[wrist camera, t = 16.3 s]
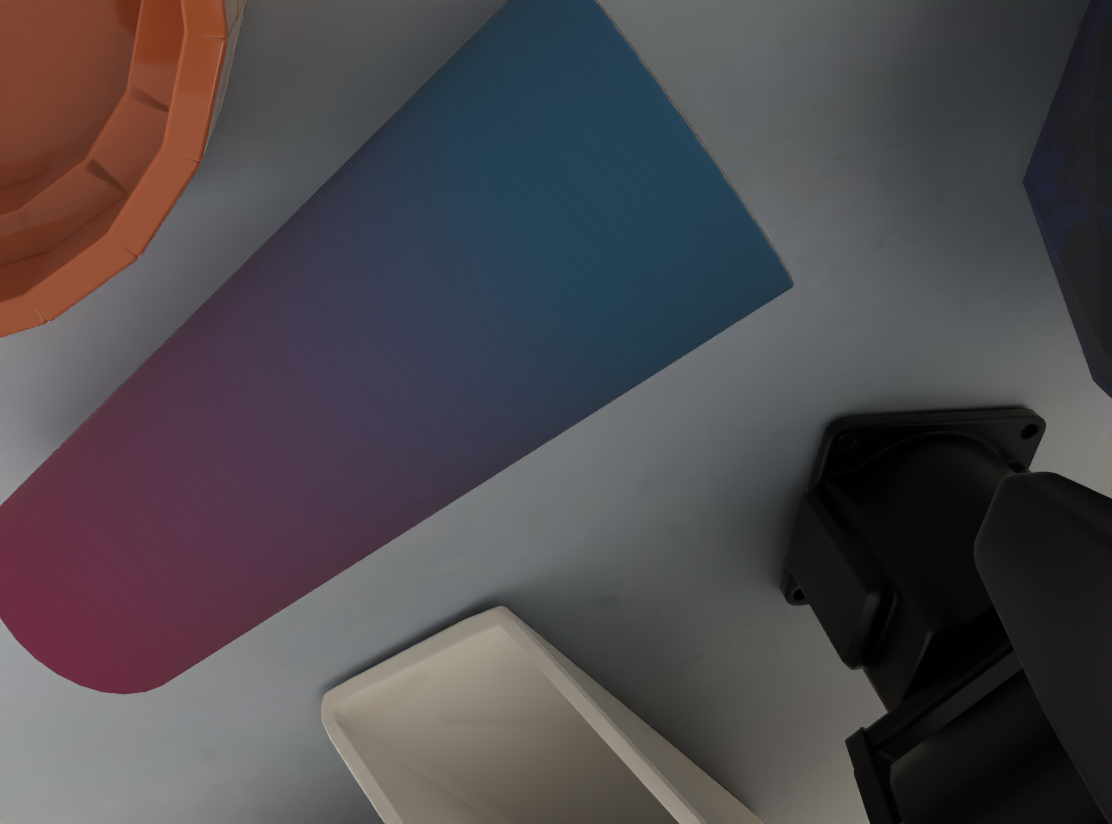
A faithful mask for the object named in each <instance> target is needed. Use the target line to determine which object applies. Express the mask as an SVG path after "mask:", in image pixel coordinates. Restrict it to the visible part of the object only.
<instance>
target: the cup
mask: <svg viewBox="0 0 1112 824" xmlns="http://www.w3.org/2000/svg"><path fill="white" fill-rule="evenodd" d="M793 286H794V283H793V280H792V277H791V275H790V273H789V272H788V270H787V268H786V266H785V264H784V263H783V261H782V259H781V258H780V256H779V255H778V253H777V251H776V250H775V248H774V247H773V245H772V243H771V242H770V240H769V239H768V237H767V236H766V234H765V233H764V231H763V230H762V228H761V227H760V225H759V223H758V222H757V220H756V219H755V217H754V216H753V214H752V213H751V211H750V210H749V208H748V207H747V206H746V204H745V203H744V201H743V200H742V198H741V197H740V195H739V194H738V192H737V191H736V189H735V188H734V186H733V185H732V183H731V182H730V181H729V179H728V178H727V176H726V175H725V173H724V172H723V171H722V169H721V168H720V166H719V165H718V163H717V162H716V161H715V159H714V158H713V156H712V155H711V153H710V152H709V151H708V149H707V148H706V146H705V145H704V143H703V142H702V141H701V139H700V138H699V136H698V135H697V134H696V132H695V131H694V129H693V128H692V127H691V125H690V124H689V122H688V121H687V120H686V118H685V117H684V115H683V114H682V113H681V111H680V110H679V108H678V107H677V106H676V104H675V103H674V102H673V100H672V99H671V97H670V96H669V95H668V93H667V92H666V91H665V89H664V88H663V87H662V85H661V84H660V82H659V81H658V80H657V78H656V77H655V76H654V74H653V73H652V71H651V70H650V69H649V67H648V66H647V65H646V63H645V62H644V61H643V59H642V58H641V57H640V55H639V54H638V53H637V51H636V50H635V49H634V47H633V46H632V45H631V43H630V42H629V41H628V39H627V38H626V37H625V35H624V34H623V33H622V31H621V30H620V29H619V28H618V26H617V25H616V24H615V22H614V21H613V20H612V18H611V17H610V16H609V15H608V13H607V12H606V11H605V9H604V8H603V7H602V5H601V4H600V3H599V2H598V0H509V1H508V2H507V3H506V4H505V5H504V6H503V7H502V8H501V9H500V10H499V11H498V12H497V13H496V14H495V15H494V16H493V17H492V18H491V19H490V20H489V21H488V22H487V23H486V24H485V25H484V26H483V27H482V28H481V29H480V30H479V31H478V32H477V33H476V34H475V35H474V36H473V37H472V38H471V39H470V40H469V41H468V42H467V43H466V44H465V45H464V46H463V47H462V48H461V49H460V50H459V51H458V52H457V53H456V54H455V55H454V56H453V57H452V58H451V59H450V60H449V61H448V62H447V63H446V64H445V65H444V66H443V67H442V68H441V69H440V70H439V71H438V72H437V73H436V74H435V75H434V76H433V77H432V78H431V79H430V80H429V81H428V82H427V83H426V84H425V85H424V86H423V87H422V88H421V89H420V90H419V91H418V92H417V93H416V94H415V95H413V96H412V97H411V98H410V99H409V100H408V101H407V102H406V103H405V104H404V105H403V106H402V107H401V108H400V109H399V110H398V111H397V112H396V113H395V114H394V115H393V116H392V117H391V118H390V119H389V120H388V121H387V122H386V123H385V124H384V125H383V126H382V127H381V128H380V129H379V130H378V131H377V132H376V133H375V134H374V135H373V136H372V137H371V138H370V139H369V140H368V141H367V142H366V143H365V144H364V145H363V146H362V147H361V148H360V149H359V150H358V151H357V152H356V153H355V154H354V155H353V156H352V157H351V158H350V159H349V160H348V161H347V162H346V163H345V164H344V165H343V166H342V167H341V168H340V169H339V170H338V171H337V172H336V173H335V174H334V175H333V176H332V177H331V178H330V179H329V180H328V181H327V182H326V183H325V184H324V185H323V186H322V187H321V188H320V189H319V190H318V191H317V192H316V193H315V194H314V195H313V196H312V197H311V198H310V199H309V200H308V201H307V202H306V203H305V204H304V205H303V206H302V207H301V208H300V209H299V210H298V211H297V212H296V213H295V214H294V215H293V216H292V217H291V218H290V219H289V220H288V221H287V222H286V223H285V224H284V225H283V226H282V227H281V228H280V229H279V230H278V231H277V232H276V233H275V234H274V235H272V236H271V237H270V238H269V239H268V240H267V241H266V242H265V243H264V244H263V245H262V246H261V247H260V248H259V249H258V250H257V251H256V252H255V253H254V254H253V255H252V256H251V257H250V258H249V259H248V260H247V261H246V262H245V263H244V264H243V265H242V266H241V267H240V268H239V269H238V270H237V271H236V272H235V273H234V274H233V275H232V276H231V277H230V278H229V279H228V280H227V281H226V282H225V283H224V284H223V285H222V286H221V287H220V288H219V289H218V290H217V291H216V292H215V293H214V294H213V295H212V296H211V297H210V298H209V299H208V300H207V301H206V302H205V303H204V304H203V305H202V306H201V307H200V308H199V309H198V310H197V311H196V312H195V313H194V314H193V315H192V316H191V317H190V318H189V319H188V320H187V321H186V322H185V323H184V324H183V325H182V326H181V327H180V328H179V329H178V330H177V331H176V332H175V333H174V334H173V335H172V336H171V337H170V338H169V339H168V340H167V341H166V342H165V343H164V344H163V345H162V346H161V347H160V348H159V349H158V350H157V351H156V352H155V353H154V354H153V355H152V356H151V357H150V358H149V359H148V360H147V361H146V362H145V363H144V364H143V365H142V366H141V367H140V368H139V369H138V370H137V371H136V372H135V373H134V374H132V375H131V376H130V377H129V378H128V379H127V380H126V381H125V382H124V383H123V384H122V385H121V386H120V387H119V388H118V389H117V390H116V391H115V392H114V393H113V394H112V395H111V396H110V397H109V398H108V399H107V400H106V401H105V402H104V403H103V404H102V405H101V406H100V407H99V408H98V409H97V410H96V411H95V412H94V413H93V414H92V415H91V416H90V417H89V418H88V419H87V420H86V421H85V422H84V423H83V424H82V425H81V426H80V427H79V428H78V429H77V430H76V431H75V432H74V433H73V434H72V435H71V436H70V437H69V438H68V439H67V440H66V441H65V442H64V443H63V444H62V445H61V446H60V447H59V448H58V449H57V450H56V451H55V452H54V453H53V454H52V455H51V456H50V457H49V458H48V459H47V460H46V461H45V462H44V463H43V464H42V465H41V466H40V467H39V468H38V469H37V470H36V471H35V472H34V473H33V474H32V475H31V476H30V477H29V478H28V479H27V480H26V481H25V482H24V483H23V484H22V485H21V486H20V487H19V488H18V489H17V490H16V491H15V492H14V493H13V494H12V495H11V496H10V497H9V498H8V499H7V500H6V501H5V502H4V503H3V504H2V505H1V506H0V618H1V620H2V621H3V622H4V624H5V625H6V626H7V628H8V629H9V630H10V632H11V633H12V635H13V636H14V637H15V639H16V640H17V641H18V642H19V643H20V644H21V645H22V646H23V647H24V648H25V649H26V650H27V651H28V652H29V653H30V654H31V655H32V656H33V657H34V658H35V659H37V660H38V661H39V662H41V663H42V664H44V665H45V666H46V667H48V668H49V669H51V670H52V671H53V672H55V673H56V674H58V675H60V676H62V677H64V678H66V679H68V680H70V681H72V682H74V683H76V684H78V685H80V686H84V687H87V688H90V689H94V690H97V691H101V692H107V693H117V694H131V693H139V692H146V691H149V690H151V689H154V688H157V687H159V686H162V685H164V684H165V683H167V682H169V681H170V680H172V679H173V678H175V677H176V676H178V675H180V674H181V673H183V672H184V671H186V670H187V669H189V668H191V667H192V666H194V665H195V664H197V663H199V662H200V661H202V660H203V659H205V658H206V657H208V656H210V655H211V654H213V653H214V652H216V651H218V650H219V649H221V648H222V647H224V646H225V645H227V644H229V643H230V642H232V641H233V640H235V639H237V638H238V637H240V636H241V635H243V634H244V633H246V632H248V631H249V630H251V629H252V628H254V627H256V626H257V625H259V624H260V623H262V622H263V621H265V620H267V619H268V618H270V617H271V616H273V615H274V614H276V613H278V612H279V611H281V610H282V609H284V608H286V607H287V606H289V605H290V604H292V603H293V602H295V601H297V600H298V599H300V598H301V597H303V596H305V595H306V594H308V593H309V592H311V591H312V590H314V589H316V588H317V587H319V586H320V585H322V584H324V583H325V582H327V581H328V580H330V579H331V578H333V577H335V576H336V575H338V574H339V573H341V572H343V571H344V570H346V569H347V568H349V567H350V566H352V565H354V564H355V563H357V562H358V561H360V560H362V559H363V558H365V557H366V556H368V555H369V554H371V553H373V552H374V551H376V550H377V549H379V548H380V547H382V546H384V545H385V544H387V543H388V542H390V541H392V540H393V539H395V538H396V537H398V536H399V535H401V534H403V533H404V532H406V531H407V530H409V529H411V528H412V527H414V526H415V525H417V524H418V523H420V522H422V521H423V520H425V519H426V518H428V517H430V516H431V515H433V514H434V513H436V512H437V511H439V510H441V509H442V508H444V507H445V506H447V505H449V504H450V503H452V502H453V501H455V500H456V499H458V498H460V497H461V496H463V495H464V494H466V493H468V492H469V491H471V490H472V489H474V488H475V487H477V486H479V485H480V484H482V483H483V482H485V481H486V480H488V479H490V478H491V477H493V476H494V475H496V474H498V473H499V472H501V471H502V470H504V469H505V468H507V467H509V466H510V465H512V464H513V463H515V462H517V461H518V460H520V459H521V458H523V457H524V456H526V455H528V454H529V453H531V452H532V451H534V450H536V449H537V448H539V447H540V446H542V445H543V444H545V443H547V442H548V441H550V440H551V439H553V438H555V437H556V436H558V435H559V434H561V433H562V432H564V431H566V430H567V429H569V428H570V427H572V426H574V425H575V424H577V423H578V422H580V421H581V420H583V419H585V418H586V417H588V416H589V415H591V414H592V413H594V412H596V411H597V410H599V409H600V408H602V407H604V406H605V405H607V404H608V403H610V402H611V401H613V400H615V399H616V398H618V397H619V396H621V395H623V394H624V393H626V392H627V391H629V390H630V389H632V388H634V387H635V386H637V385H638V384H640V383H642V382H643V381H645V380H646V379H648V378H649V377H651V376H653V375H654V374H656V373H657V372H659V371H661V370H662V369H664V368H665V367H667V366H668V365H670V364H672V363H673V362H675V361H676V360H678V359H680V358H681V357H683V356H684V355H686V354H687V353H689V352H691V351H692V350H694V349H695V348H697V347H698V346H700V345H702V344H703V343H705V342H706V341H708V340H710V339H711V338H713V337H714V336H716V335H717V334H719V333H721V332H722V331H724V330H725V329H727V328H729V327H730V326H732V325H733V324H735V323H736V322H738V321H740V320H741V319H743V318H744V317H746V316H748V315H749V314H751V313H752V312H754V311H755V310H757V309H759V308H760V307H762V306H763V305H765V304H767V303H768V302H770V301H771V300H773V299H774V298H776V297H778V296H779V295H781V294H782V293H784V292H786V291H787V290H789V289H790V288H792V287H793Z"/></svg>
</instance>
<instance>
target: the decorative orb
mask: <svg viewBox="0 0 1112 824" xmlns="http://www.w3.org/2000/svg"><path fill="white" fill-rule="evenodd" d="M1023 184H1024V187H1025V189H1026V192H1027V195H1028V198H1029V201H1030V203H1031V206H1032V209H1033V212H1034V215H1035V218H1036V220H1037V223H1038V226H1039V229H1040V232H1041V235H1042V237H1043V240H1044V243H1045V246H1046V249H1047V251H1048V254H1049V257H1050V260H1051V263H1052V266H1053V268H1054V271H1055V274H1056V277H1057V280H1058V283H1059V285H1060V288H1061V291H1062V294H1063V297H1064V299H1065V302H1066V305H1067V308H1068V311H1069V314H1070V316H1071V319H1072V322H1073V325H1074V328H1075V330H1076V333H1077V336H1078V339H1079V342H1080V345H1081V347H1082V350H1083V353H1084V356H1085V359H1086V362H1087V364H1088V367H1089V370H1090V373H1091V376H1092V378H1093V381H1094V382H1095V383H1096V384H1097V385H1098V386H1099V387H1100V388H1101V389H1102V390H1103V391H1104V392H1106V393H1107V394H1108V395H1109V396H1110V397H1111V398H1112V0H1091V1H1090V3H1089V6H1088V9H1087V11H1086V14H1085V17H1084V19H1083V22H1082V25H1081V27H1080V30H1079V33H1078V35H1077V38H1076V41H1075V43H1074V46H1073V49H1072V51H1071V54H1070V57H1069V59H1068V62H1067V65H1066V67H1065V70H1064V73H1063V75H1062V78H1061V81H1060V83H1059V86H1058V89H1057V91H1056V94H1055V97H1054V99H1053V102H1052V104H1051V107H1050V110H1049V112H1048V115H1047V118H1046V120H1045V123H1044V126H1043V128H1042V131H1041V134H1040V136H1039V139H1038V142H1037V144H1036V147H1035V150H1034V152H1033V155H1032V158H1031V160H1030V163H1029V166H1028V168H1027V171H1026V174H1025V176H1024V179H1023Z"/></svg>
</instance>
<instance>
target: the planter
mask: <svg viewBox="0 0 1112 824" xmlns="http://www.w3.org/2000/svg"><path fill="white" fill-rule="evenodd" d="M321 719H322V722H323V724H324V727H325V729H326V732H327V734H328V737H329V739H330V740H331V742H332V743H333V745H334V746H335V748H336V750H337V751H338V753H339V754H340V756H341V757H342V759H343V760H344V762H345V764H346V765H347V767H348V768H349V770H350V771H351V773H352V774H353V776H354V778H355V779H356V781H357V782H358V784H359V785H360V787H361V788H362V790H363V791H364V793H365V794H366V796H367V797H368V799H369V801H370V802H371V804H372V805H373V807H374V808H375V810H376V811H377V813H378V814H379V816H380V817H381V819H382V820H383V822H384V823H385V824H764V823H763V821H762V820H761V819H759V818H758V817H757V816H756V815H755V814H754V813H753V812H751V811H750V810H749V809H748V808H747V807H746V806H745V805H743V804H742V803H741V802H740V801H739V800H737V799H736V798H735V797H734V796H733V795H731V794H730V793H729V792H728V791H727V790H725V789H724V788H723V787H722V786H721V785H719V784H718V783H717V782H716V781H715V780H713V779H712V778H711V777H710V776H709V775H708V774H706V773H705V772H704V771H703V770H702V769H700V768H699V767H698V766H697V765H696V764H694V763H693V762H692V761H691V760H690V759H688V758H687V757H686V756H685V755H684V754H683V753H681V752H680V751H679V750H678V749H677V748H675V747H674V746H673V745H672V744H671V743H669V742H668V741H667V740H666V739H665V738H663V737H662V736H661V735H660V734H659V733H657V732H656V731H655V730H654V729H652V728H651V727H650V726H649V725H648V724H646V723H645V722H644V721H643V720H642V719H640V718H639V717H638V716H637V715H636V714H634V713H633V712H632V711H631V710H630V709H628V708H627V707H626V706H625V705H624V704H622V703H621V702H620V701H619V700H618V699H616V698H615V697H614V696H613V695H612V694H610V693H609V692H608V691H607V690H606V689H604V688H603V687H602V686H601V685H600V684H598V683H597V682H596V681H595V680H594V679H592V678H591V677H590V676H589V675H588V674H586V673H585V672H584V671H583V670H581V669H580V668H579V667H578V666H577V665H575V664H574V663H573V662H572V661H571V660H569V659H568V658H567V657H566V656H565V655H563V654H562V653H561V652H560V651H558V650H557V649H556V648H555V647H554V646H552V645H551V644H550V643H549V642H548V641H546V640H545V639H544V638H543V637H542V636H540V635H539V634H538V633H537V632H535V631H534V630H533V629H532V628H531V627H529V626H528V625H527V624H526V623H525V622H523V621H522V620H521V619H520V618H519V617H517V616H516V615H515V614H514V613H512V612H511V611H510V610H509V609H508V608H506V607H504V606H498V607H495V608H492V609H490V610H487V611H485V612H482V613H479V614H477V615H474V616H472V617H469V618H467V619H464V620H462V621H460V622H458V623H457V624H455V625H453V626H451V627H449V628H447V629H445V630H443V631H441V632H439V633H437V634H435V635H433V636H431V637H429V638H428V639H426V640H424V641H422V642H420V643H418V644H416V645H414V646H412V647H410V648H408V649H406V650H404V651H402V652H401V653H399V654H397V655H395V656H393V657H391V658H389V659H387V660H385V661H383V662H381V663H380V664H378V665H376V666H374V667H372V668H370V669H368V670H366V671H364V672H362V673H360V674H359V675H357V676H355V677H353V678H351V679H349V680H347V681H345V682H344V683H342V684H340V685H338V686H337V687H335V688H333V689H331V690H329V691H328V692H327V693H326V694H325V695H324V697H323V700H322V710H321Z"/></svg>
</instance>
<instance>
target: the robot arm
mask: <svg viewBox="0 0 1112 824" xmlns="http://www.w3.org/2000/svg"><path fill="white" fill-rule="evenodd" d="M1023 428H1024V429H1023ZM1045 428H1046V423H1045V420H1043V419H1042V418H1041V417H1040V416H1039V415H1038V414H1037V413H1036V412H1034V411H1033V410H1031V409H1012V410H991V411H970V412H949V413H928V414H906V415H885V416H864V417H844V418H840V419H837V420H835V421H833V422H831V423H830V424H829V425H828V426H827V427H826V429H825V431H824V433H823V436H822V439H821V443H820V446H819V450H818V453H817V457H816V461H815V464H814V468H813V471H812V475H811V478H810V482H809V485H808V489H807V491H806V492H805V494H804V495H803V497H802V500H801V504H800V507H799V511H798V514H797V518H796V522H795V525H794V529H793V532H792V536H791V539H790V543H789V547H788V550H787V554H786V557H785V563H786V567H785V571H784V574H783V578H782V581H781V585H780V590H781V592H782V594H783V596H784V597H785V599H786V601H787V602H788V603H789V604H791V605H808V604H809V605H810V606H811V608H812V610H813V611H814V613H815V615H816V617H817V618H818V620H819V622H820V624H821V625H822V627H823V629H824V631H825V632H826V634H827V636H828V637H829V639H830V641H831V643H832V644H833V646H834V648H835V650H836V651H837V653H838V655H839V657H840V658H841V660H842V662H843V663H844V664H845V665H846V666H848V667H849V668H850V669H851V670H857V669H863V671H864V673H865V674H866V676H867V678H868V679H869V681H870V683H871V684H872V686H873V688H874V689H875V691H876V693H877V694H878V696H879V698H880V700H881V701H882V703H883V705H884V706H885V708H886V710H887V711H888V713H886V714H885V715H884V716H882V717H881V718H880V719H878V720H877V721H876V722H874V723H873V724H872V725H871V726H869V727H868V728H867V729H866V728H864V727H861V728H860V729H859V730H857V731H856V732H855V733H854V734H852V735H851V736H850V737H848V738H847V739H846V740H845V743H846V746H847V749H848V752H849V755H850V758H851V761H852V764H853V767H854V776H855V779H856V782H857V785H858V788H859V791H860V794H861V797H862V800H863V804H864V807H865V810H866V813H867V816H868V819H869V822H870V824H1112V499H1111V498H1109V497H1107V496H1105V495H1102V494H1100V493H1098V492H1096V491H1094V490H1091V489H1089V488H1087V487H1085V486H1083V485H1081V484H1078V483H1076V482H1074V481H1072V480H1070V479H1067V478H1065V477H1063V476H1061V475H1058V474H1056V473H1051V472H1031V471H1030V470H1029V469H1028V468H1029V466H1030V464H1031V461H1032V459H1033V457H1034V455H1035V452H1036V450H1037V448H1038V445H1039V443H1040V441H1041V439H1042V436H1043V434H1044V432H1045ZM845 434H848V435H847V437H845V438H844V439H843V440H839V439H840V438H841V437H842V436H843V435H845ZM798 588H799V589H798Z"/></svg>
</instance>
